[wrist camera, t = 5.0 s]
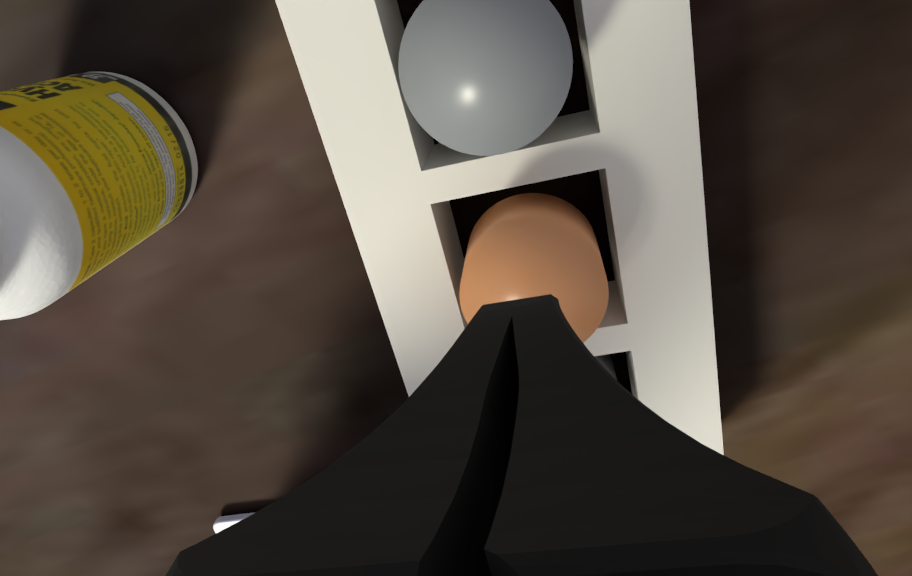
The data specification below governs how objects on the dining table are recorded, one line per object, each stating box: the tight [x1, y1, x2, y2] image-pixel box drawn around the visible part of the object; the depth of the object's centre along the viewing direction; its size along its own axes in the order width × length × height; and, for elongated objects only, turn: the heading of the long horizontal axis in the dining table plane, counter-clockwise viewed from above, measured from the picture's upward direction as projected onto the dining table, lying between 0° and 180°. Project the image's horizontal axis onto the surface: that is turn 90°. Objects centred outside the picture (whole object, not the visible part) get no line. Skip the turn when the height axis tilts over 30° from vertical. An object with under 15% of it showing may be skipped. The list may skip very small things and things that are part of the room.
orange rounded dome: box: [459, 193, 609, 342], centre depth 18 cm, size 4×4×3 cm
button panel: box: [275, 0, 724, 455], centre depth 20 cm, size 20×10×3 cm, turn 14°
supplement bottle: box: [0, 72, 198, 320], centre depth 17 cm, size 5×5×10 cm
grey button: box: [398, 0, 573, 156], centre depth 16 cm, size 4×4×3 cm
